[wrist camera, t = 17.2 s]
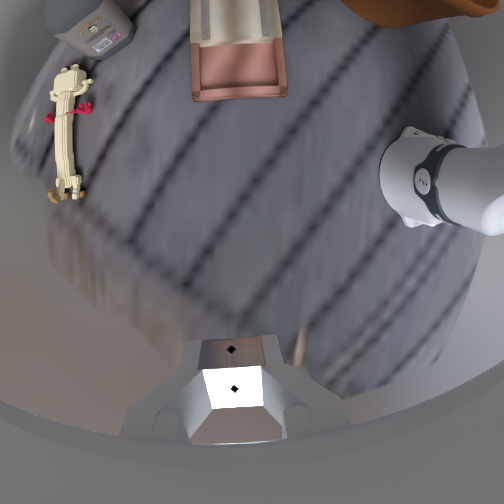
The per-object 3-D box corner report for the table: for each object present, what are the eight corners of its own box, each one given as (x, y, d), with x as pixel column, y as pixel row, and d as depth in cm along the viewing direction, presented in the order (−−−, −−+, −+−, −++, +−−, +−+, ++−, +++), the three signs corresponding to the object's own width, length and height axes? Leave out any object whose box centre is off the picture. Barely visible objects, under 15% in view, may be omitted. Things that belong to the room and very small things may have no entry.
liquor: (142, 37, 32) (58, -61, 3) (98, 67, 33) (-16, 6, 4) (124, 10, 29) (48, -76, 1) (84, 39, 30) (-14, -21, 2)
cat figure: (99, 192, 41) (100, 58, 32) (74, 204, 33) (76, 46, 24) (58, 197, 41) (58, 71, 31) (31, 209, 33) (31, 65, 23)
